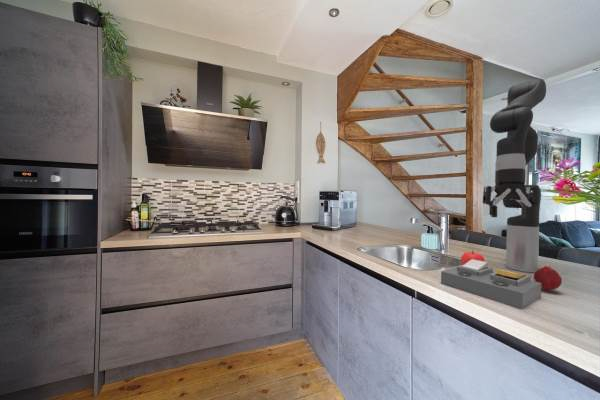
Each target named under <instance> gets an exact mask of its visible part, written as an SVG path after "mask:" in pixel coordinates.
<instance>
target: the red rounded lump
mask: <svg viewBox="0 0 600 400" xmlns="http://www.w3.org/2000/svg"><path fill="white" fill-rule="evenodd" d="M533 273H534V274H533V281H535V282H540V283H541V289H543V290H544V291H546V292H549V291H552V290H556V289H558V288H560V287H561V285H562V283H563V281H562V280H563V279H562V276H561V275H560V274H559V273H558V272H557V270H555V269H554V268H552V267H551V266H550V265H549V264H547V263H546V264H544V266H543V267H541V268H538V270H537V271H536V272H533Z"/></svg>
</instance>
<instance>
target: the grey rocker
mask: <svg viewBox="0 0 600 400" xmlns="http://www.w3.org/2000/svg"><path fill="white" fill-rule="evenodd" d="M488 264H489V263H488V262H487V261H485V262H483V261H478V260H474V259H471V260H470V261H469V262H467V263H466V264H464V265H463V266H462V268H466V269H470V270H474V271H481V270H483V269H484V268H486V267H489V266H488Z"/></svg>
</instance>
